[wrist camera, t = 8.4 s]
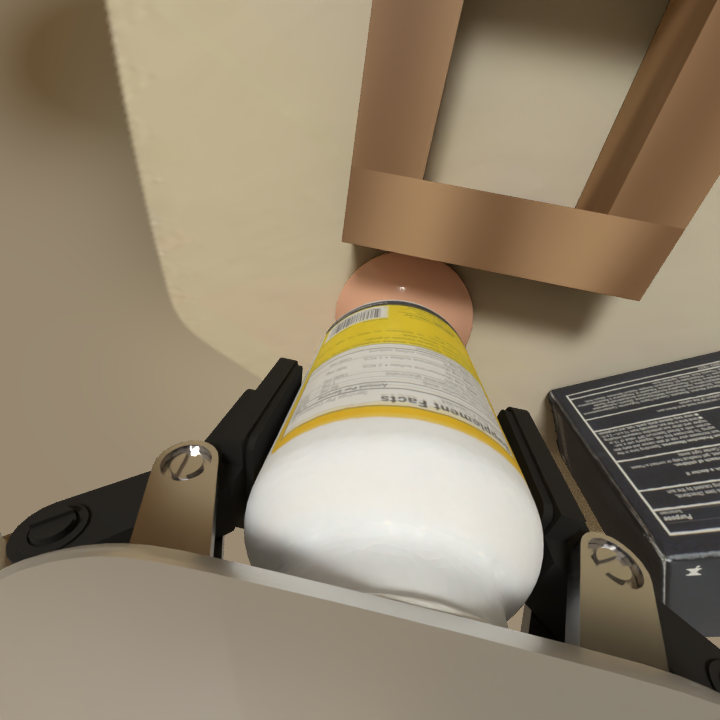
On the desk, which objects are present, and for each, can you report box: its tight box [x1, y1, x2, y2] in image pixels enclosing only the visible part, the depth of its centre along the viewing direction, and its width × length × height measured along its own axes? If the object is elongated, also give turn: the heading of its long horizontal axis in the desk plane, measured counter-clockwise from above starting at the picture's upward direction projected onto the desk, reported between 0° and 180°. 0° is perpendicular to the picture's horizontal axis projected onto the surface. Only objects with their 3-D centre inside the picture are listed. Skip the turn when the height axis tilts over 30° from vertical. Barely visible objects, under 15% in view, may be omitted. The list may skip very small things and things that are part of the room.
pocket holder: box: [342, 0, 720, 301], centre depth 12 cm, size 14×14×3 cm
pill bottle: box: [244, 300, 544, 629], centre depth 9 cm, size 6×6×12 cm
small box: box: [548, 351, 720, 637], centre depth 15 cm, size 11×6×10 cm, turn 113°
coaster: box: [335, 252, 473, 346], centre depth 19 cm, size 8×8×1 cm
